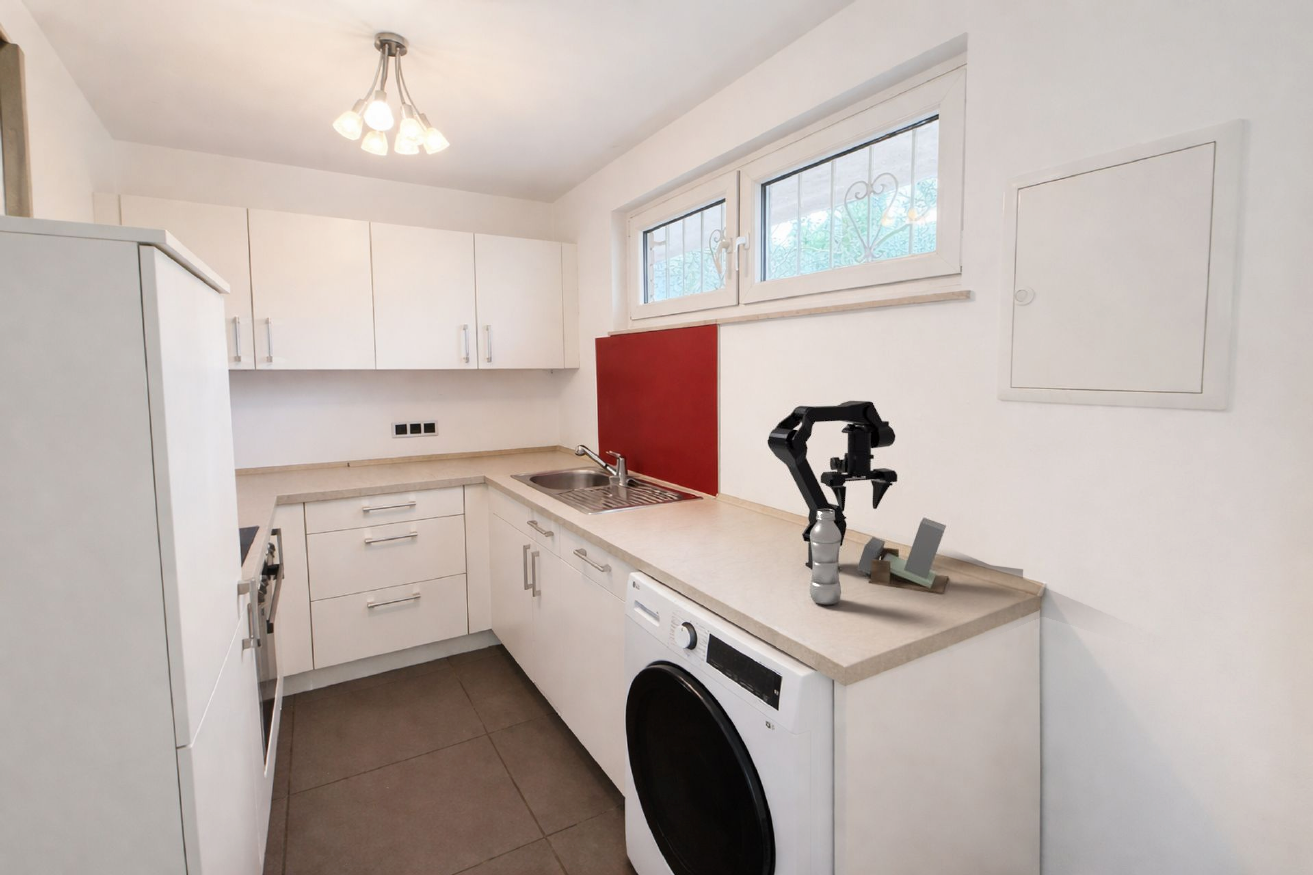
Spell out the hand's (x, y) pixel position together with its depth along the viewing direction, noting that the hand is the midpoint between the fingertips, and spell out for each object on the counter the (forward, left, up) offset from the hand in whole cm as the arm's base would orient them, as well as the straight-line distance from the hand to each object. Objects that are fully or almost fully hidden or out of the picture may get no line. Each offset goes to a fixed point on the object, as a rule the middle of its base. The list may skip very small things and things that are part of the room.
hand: (858, 509), depth 158 cm
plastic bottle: (-22, -25, -13) cm, 36 cm away
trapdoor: (0, -16, -13) cm, 20 cm away
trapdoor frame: (+3, -18, -13) cm, 22 cm away
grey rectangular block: (+4, -19, -10) cm, 22 cm away
